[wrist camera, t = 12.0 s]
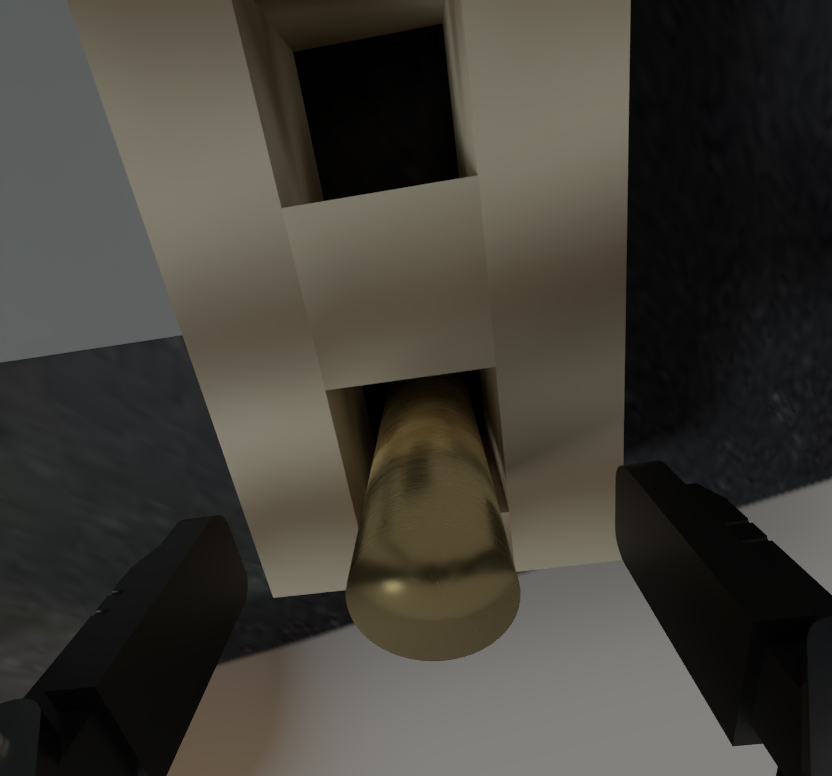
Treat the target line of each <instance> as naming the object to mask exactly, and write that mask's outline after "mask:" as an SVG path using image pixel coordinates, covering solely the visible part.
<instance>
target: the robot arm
mask: <svg viewBox="0 0 832 776" xmlns="http://www.w3.org/2000/svg"><path fill="white" fill-rule="evenodd" d="M615 535H616V541H617V545H618V549H619V552H620V555H621V557H622V559H623V561H624V563H625V565H626V567H627V569H628V570H629V572H630V574H631V575H632V577H633V579H634V580H635V582H636V584H637V585H638V587H639V589H640V591H641V592H642V594H643V596H644V597H645V599H646V601H647V602H648V604H649V606H650V607H651V609H652V611H653V612H654V614H655V616H656V617H657V619H658V621H659V622H660V624H661V626H662V627H663V629H664V631H665V633H666V634H667V636H668V638H669V639H670V641H671V643H672V644H673V646H674V648H675V650H676V651H677V653H678V655H679V656H680V658H681V660H682V661H683V663H684V665H685V666H686V668H687V670H688V672H689V673H690V675H691V676H692V678H693V680H694V682H695V683H696V685H697V686H698V688H699V690H700V692H701V693H702V695H703V697H704V698H705V700H706V702H707V703H708V705H709V707H710V708H711V710H712V712H713V714H714V715H715V717H716V719H717V720H718V722H719V724H720V725H721V727H722V729H723V731H724V732H725V734H726V736H727V737H728V739H729V741H730V742H731V744H732V746H739V745H740V746H741V745H752V744H764V746H765V747H766V749H767V750H768V752H769V753H770V755H771V756H772V758H773V760H774V761H775V763H776V764H777V766H778V768H777V773H776V776H832V595H831V594H830V593H829V592H828V591H826V590H825V589H824V588H823V587H822V586H821V585H820V584H819V583H818V582H817V581H816V580H814V579H813V578H812V577H811V576H810V575H809V574H808V573H807V572H806V571H805V570H804V569H802V568H801V567H800V566H799V565H798V564H797V563H796V562H795V561H794V560H792V558H790V557H789V556H788V555H787V554H786V553H785V552H784V551H783V550H782V549H781V548H780V547H778V546H777V545H776V544H775V543H774V542H773V541H768V539H767V536H766V535H765V534H764V533H763V532H762V531H761V530H760V529H759V528H758V527H757V526H755V525H754V524H753V523H749V521H748V518H747V517H745V515H743V514H742V513H741V512H740V511H739V510H738V509H737V508H736V507H735V506H734V505H733V504H731V503H730V502H729V501H728V500H727V499H726V498H724V497H722V496H720V495H718V494H716V493H714V492H712V491H710V490H708V489H707V488H705V487H703V486H701V485H699V484H697V483H694V484H685V483H684V482H683V481H682V480H681V479H680V478H679V477H678V476H677V475H676V474H675V473H674V472H673V471H672V470H671V469H670V468H669V467H668V466H667V465H666V464H665V463H663V462H661V461H653V462H645V463H637V464H629V465H622V466H619V467H618V468H617V471H616V483H615ZM247 587H248V582H247V575H246V571H245V568H244V565H243V563H242V560H241V557H240V555H239V552H238V549H237V547H236V544H235V541H234V539H233V536H232V533H231V531H230V528H229V525H228V523H227V521H226V520H225V518H224V517H222V516H220V515H217V516H209V517H201V518H193V519H185V520H182V521H180V522H179V523H178V524H177V525H176V526H175V527H174V528H173V530H172V531H171V532H170V533H169V535H168V536H167V537H166V539H165V540H164V541H163V542H162V544H161V545H160V546H159V547H158V548H156V549H154V550H153V551H152V552H151V553H149V554H148V555H147V556H146V557H144V558H143V559H142V560H141V561H139V562H138V563H137V564H136V565H134V566H133V567H132V568H131V569H130V570H129V571H128V572H127V573H126V575H125V576H124V577H123V578H122V579H121V581H120V582H119V583H118V584H117V586H116V587H115V588H114V589H113V590H112V595H111V596H107V598H106V599H105V600H104V601H103V602H102V604H101V605H100V606H99V607H98V608H97V610H96V614H95V616H91V617H90V618H89V619H88V621H87V622H86V623H85V624H84V625H83V627H82V628H81V629H80V630H79V631H78V633H77V634H76V635H75V636H74V638H73V639H72V640H71V641H70V642H69V644H68V645H67V646H66V647H65V648H64V650H63V651H62V652H61V653H60V654H59V656H58V657H57V658H56V659H55V661H54V662H53V663H52V664H51V665H50V667H49V668H48V669H47V670H46V671H45V673H44V674H43V675H42V676H41V677H40V679H39V680H38V681H37V682H36V684H35V685H34V686H33V687H32V688H31V690H30V691H29V692H28V693H27V694H26V696H25V697H24V698H21V699H14V700H10V701H7V702H3V703H1V704H0V776H166V775H167V773H168V771H169V769H170V767H171V765H172V762H173V760H174V758H175V756H176V753H177V751H178V749H179V747H180V745H181V742H182V740H183V738H184V736H185V733H186V732H187V729H188V727H189V725H190V722H191V720H192V718H193V716H194V714H195V712H196V709H197V707H198V705H199V703H200V701H201V698H202V696H203V694H204V692H205V690H206V688H207V685H208V683H209V681H210V679H211V676H212V674H213V672H214V670H215V668H216V666H217V663H218V661H219V659H220V657H221V655H222V652H223V650H224V648H225V646H226V644H227V641H228V639H229V637H230V635H231V633H232V630H233V628H234V626H235V624H236V622H237V619H238V617H239V615H240V613H241V611H242V608H243V606H244V604H245V600H246V596H247Z"/></svg>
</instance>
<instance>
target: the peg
mask: <svg viewBox="0 0 832 776" xmlns="http://www.w3.org/2000/svg"><path fill="white" fill-rule="evenodd" d="M346 602H347V607H348V610H349V613H350V616H351V618H352V619H353V621H354V623H355V625H356V626H357V627H358V629H359V630H360V631H361V632H362V633H363V634H364V635H365V636H366V637H367V638H368V639H369V640H370V641H372V642H373V643H374V644H376V645H378V646H379V647H381V648H383V649H384V650H387V651H389V652H391V653H393V654H396V655H399V656H402V657H406V658H410V659H415V660H422V661H444V660H451V659H457V658H461V657H465V656H468V655H471V654H474V653H476V652H478V651H480V650H482V649H484V648H485V647H487V646H489V645H491V644H492V643H493V642H495V641H496V640H497V639H499V638H500V637H501V636H502V635H503V634H504V632H506V630H507V629H508V628H509V626H510V625H511V624H512V622H513V620H514V618H515V616H516V614H517V611H518V608H519V603H520V586H519V580H518V576H517V573H516V569H515V565H514V561H513V558H512V554H511V550H510V546H509V542H508V539H507V535H506V531H505V527H504V524H503V520H502V516H501V512H500V508H499V505H498V501H497V497H496V493H495V490H494V486H493V482H492V478H491V475H490V471H489V467H488V463H487V459H486V456H485V452H484V448H483V444H482V441H481V437H480V433H479V429H478V426H477V422H476V418H475V414H474V410H473V407H472V403H471V399H470V395H469V392H468V388H467V384H466V380H465V377H464V375H463V373H462V372H455V373H448V374H441V375H433V376H426V377H419V378H412V379H404V380H397V381H390V382H389V386H388V391H387V396H386V401H385V405H384V410H383V415H382V420H381V424H380V429H379V434H378V438H377V443H376V448H375V453H374V457H373V462H372V467H371V471H370V476H369V481H368V486H367V490H366V495H365V500H364V505H363V509H362V514H361V519H360V523H359V528H358V533H357V538H356V542H355V547H354V552H353V557H352V561H351V566H350V571H349V575H348V580H347V586H346Z"/></svg>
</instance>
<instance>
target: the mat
mask: <svg viewBox="0 0 832 776" xmlns="http://www.w3.org/2000/svg"><path fill="white" fill-rule="evenodd" d="M179 335H182V332H181V329H180V327H179V324H178V321H177V318H176V315H175V312H174V309H173V306H172V303H171V301H170V298H169V295H168V292H167V289H166V286H165V283H164V280H163V277H162V275H161V272H160V269H159V266H158V263H157V260H156V257H155V254H154V251H153V249H152V246H151V243H150V240H149V237H148V234H147V231H146V228H145V225H144V223H143V220H142V217H141V214H140V211H139V208H138V205H137V202H136V199H135V197H134V194H133V191H132V188H131V185H130V182H129V179H128V176H127V173H126V171H125V168H124V165H123V162H122V159H121V156H120V153H119V150H118V147H117V144H116V142H115V139H114V136H113V133H112V130H111V127H110V124H109V121H108V118H107V116H106V113H105V110H104V107H103V104H102V101H101V98H100V95H99V92H98V90H97V87H96V84H95V81H94V78H93V75H92V72H91V69H90V66H89V64H88V61H87V58H86V55H85V52H84V49H83V46H82V43H81V40H80V38H79V35H78V32H77V29H76V26H75V23H74V20H73V17H72V14H71V12H70V9H69V6H68V3H67V0H0V362H6V361H13V360H20V359H26V358H33V357H40V356H46V355H53V354H60V353H66V352H73V351H79V350H86V349H93V348H99V347H106V346H113V345H119V344H126V343H133V342H139V341H146V340H153V339H159V338H166V337H173V336H179Z"/></svg>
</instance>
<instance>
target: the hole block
mask: <svg viewBox="0 0 832 776" xmlns="http://www.w3.org/2000/svg"><path fill="white" fill-rule="evenodd" d="M67 3H68V6H69V9H70V12H71V14H72V17H73V20H74V23H75V26H76V29H77V32H78V35H79V38H80V40H81V43H82V46H83V49H84V52H85V55H86V58H87V61H88V64H89V66H90V69H91V72H92V75H93V78H94V81H95V84H96V87H97V90H98V92H99V95H100V98H101V101H102V104H103V107H104V110H105V113H106V116H107V118H108V121H109V124H110V127H111V130H112V133H113V136H114V139H115V142H116V144H117V147H118V150H119V153H120V156H121V159H122V162H123V165H124V168H125V171H126V173H127V176H128V179H129V182H130V185H131V188H132V191H133V194H134V197H135V199H136V202H137V205H138V208H139V211H140V214H141V217H142V220H143V223H144V225H145V228H146V231H147V234H148V237H149V240H150V243H151V246H152V249H153V251H154V254H155V257H156V260H157V263H158V266H159V269H160V272H161V275H162V277H163V280H164V283H165V286H166V289H167V292H168V295H169V298H170V301H171V303H172V306H173V309H174V312H175V315H176V318H177V321H178V324H179V327H180V329H181V332H182V335H183V338H184V341H185V344H186V347H187V350H188V353H189V355H190V358H191V361H192V364H193V367H194V370H195V373H196V376H197V379H198V381H199V384H200V387H201V390H202V393H203V396H204V399H205V402H206V405H207V407H208V410H209V413H210V416H211V419H212V422H213V425H214V428H215V431H216V433H217V436H218V439H219V442H220V445H221V448H222V451H223V454H224V457H225V459H226V462H227V465H228V468H229V471H230V474H231V477H232V480H233V483H234V485H235V488H236V491H237V494H238V497H239V500H240V503H241V506H242V509H243V511H244V514H245V517H246V520H247V523H248V526H249V529H250V532H251V535H252V537H253V540H254V543H255V546H256V549H257V552H258V555H259V558H260V561H261V564H262V566H263V569H264V572H265V575H266V578H267V581H268V584H269V587H270V590H271V592H272V595H273V598H276V597H285V596H294V595H304V594H313V593H322V592H332V591H341V590H346V586H347V580H348V575H349V571H350V566H351V561H352V557H353V552H354V547H355V542H356V538H357V533H358V528H359V523H360V519H361V514H362V509H363V505H364V500H365V495H366V490H367V486H368V481H369V476H370V471H371V467H372V462H373V457H374V453H375V444H374V439H373V435H372V430H371V425H370V420H369V415H368V410H367V406H366V401H365V396H364V391H363V386H362V385H368V384H376V383H383V382H390V381H397V380H404V379H412V378H419V377H426V376H433V375H441V374H448V373H455V372H462V371H469V370H477V369H479V370H480V380H481V389H482V398H483V408H484V417H485V427H486V435H480V437H481V441H482V444H483V448H484V452H485V456H486V459H487V463H488V467H489V471H490V475H491V478H492V482H493V486H494V490H495V493H496V497H497V501H498V505H499V508H500V512H501V516H502V520H503V524H504V527H505V531H506V535H507V539H508V542H509V546H510V550H511V554H512V558H513V561H514V565H515V569H516V572H518V571H527V570H537V569H546V568H555V567H564V566H574V565H583V564H593V563H602V562H611V561H620V560H622V557H621V555H620V552H619V549H618V545H617V541H616V535H615V483H616V471H617V468H618V467H619V466H622V465H623V452H624V389H625V326H626V263H627V200H628V137H629V74H630V11H631V0H67ZM437 24H443V32H444V41H445V51H446V60H447V69H448V79H449V88H450V98H451V107H452V116H453V126H454V135H455V145H456V154H457V163H458V173H459V179H453V180H447V181H441V182H435V183H429V184H423V185H417V186H411V187H405V188H399V189H393V190H387V191H381V192H375V193H369V194H363V195H357V196H351V197H345V198H340V199H334V200H328V201H324V199H323V194H322V189H321V184H320V179H319V174H318V170H317V165H316V160H315V155H314V150H313V146H312V141H311V136H310V131H309V126H308V121H307V117H306V112H305V107H304V102H303V97H302V93H301V88H300V83H299V78H298V73H297V68H296V64H295V59H294V54H293V52H297V51H302V50H307V49H312V48H318V47H323V46H328V45H333V44H338V43H344V42H349V41H354V40H359V39H364V38H370V37H375V36H380V35H385V34H390V33H396V32H401V31H406V30H411V29H417V28H422V27H427V26H432V25H437Z"/></svg>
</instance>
